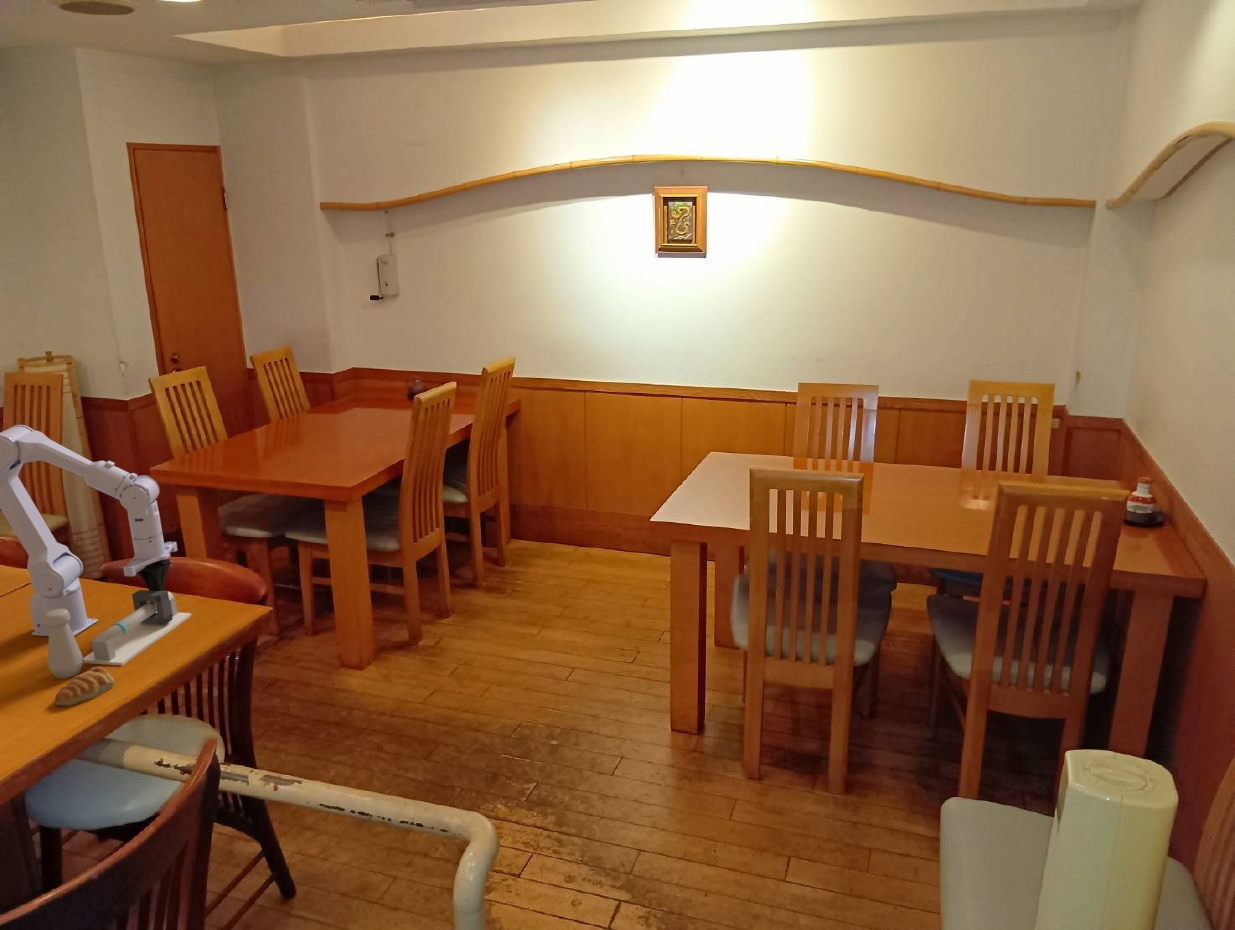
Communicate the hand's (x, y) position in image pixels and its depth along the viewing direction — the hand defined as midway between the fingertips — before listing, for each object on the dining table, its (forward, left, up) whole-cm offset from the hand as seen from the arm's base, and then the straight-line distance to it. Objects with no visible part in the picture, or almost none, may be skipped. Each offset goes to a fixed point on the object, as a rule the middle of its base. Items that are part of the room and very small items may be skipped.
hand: (157, 594), depth 186 cm
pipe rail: (0, -7, -6) cm, 10 cm away
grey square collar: (0, -2, -5) cm, 6 cm away
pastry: (+5, -28, -7) cm, 30 cm away
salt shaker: (-4, -22, -7) cm, 24 cm away
